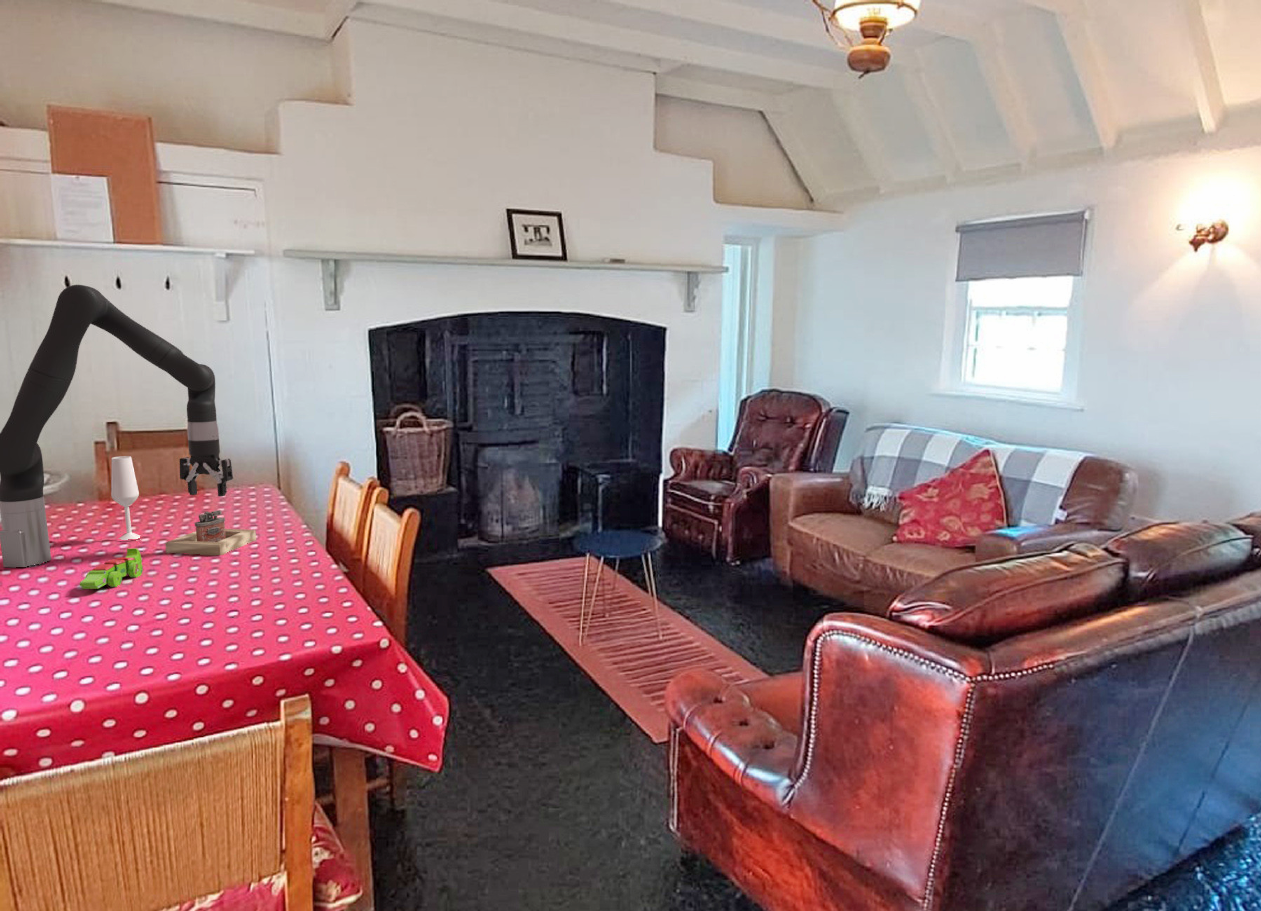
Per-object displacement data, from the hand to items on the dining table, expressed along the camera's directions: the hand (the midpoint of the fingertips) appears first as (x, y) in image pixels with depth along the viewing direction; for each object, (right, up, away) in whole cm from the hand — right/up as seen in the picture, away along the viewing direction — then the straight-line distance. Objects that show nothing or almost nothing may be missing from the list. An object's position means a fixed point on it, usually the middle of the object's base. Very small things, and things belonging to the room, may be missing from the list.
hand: (207, 495), depth 219 cm
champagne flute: (-28, -13, +10) cm, 33 cm away
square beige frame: (0, -14, +2) cm, 15 cm away
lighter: (0, -15, +2) cm, 15 cm away
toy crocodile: (-7, -20, -28) cm, 35 cm away
